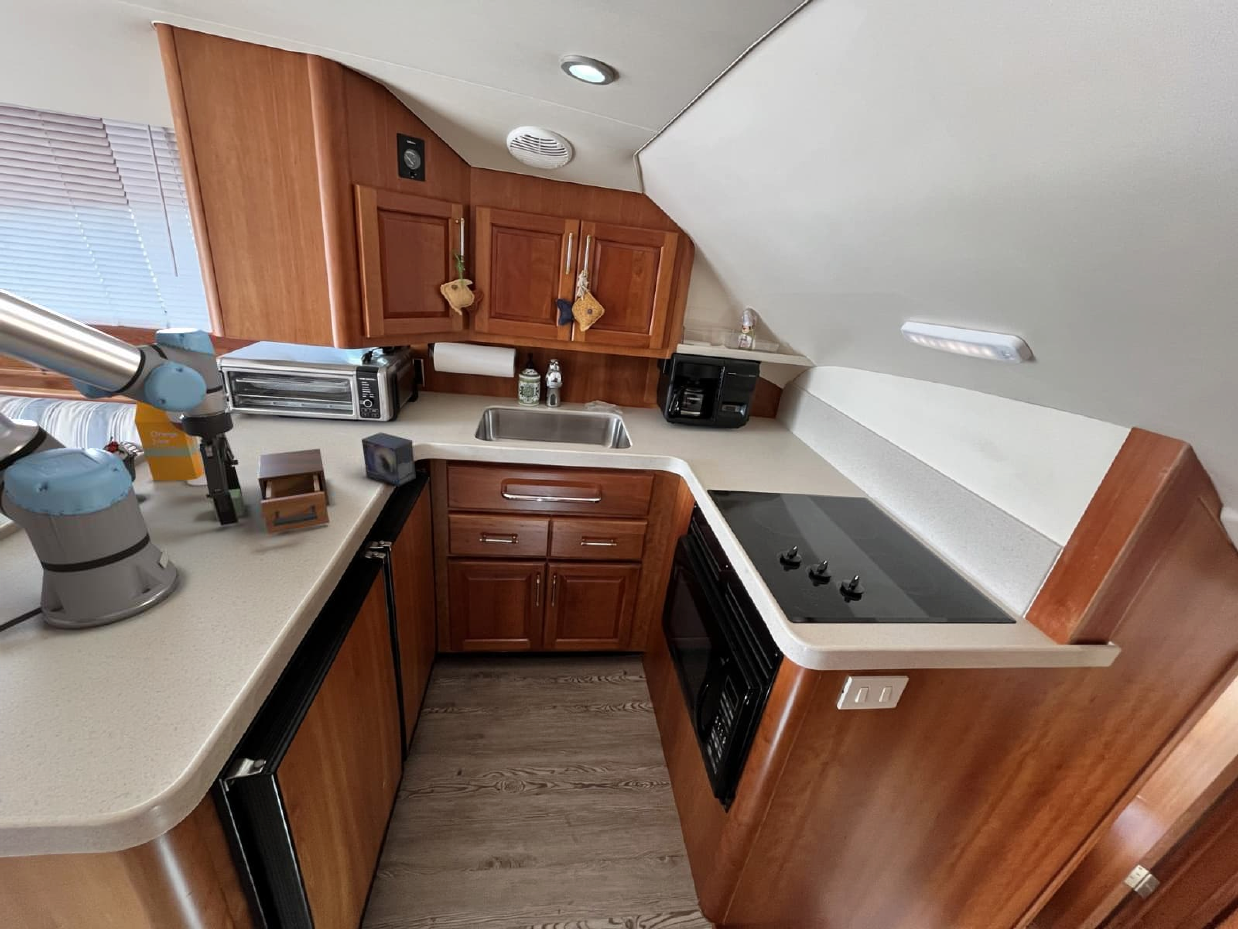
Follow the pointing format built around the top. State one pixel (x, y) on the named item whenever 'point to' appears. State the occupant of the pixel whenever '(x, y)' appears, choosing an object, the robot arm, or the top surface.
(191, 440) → the orange juice
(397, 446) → the small box
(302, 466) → the cabinet
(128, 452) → the sundae
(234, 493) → the block
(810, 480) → the top surface
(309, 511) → the drawer
